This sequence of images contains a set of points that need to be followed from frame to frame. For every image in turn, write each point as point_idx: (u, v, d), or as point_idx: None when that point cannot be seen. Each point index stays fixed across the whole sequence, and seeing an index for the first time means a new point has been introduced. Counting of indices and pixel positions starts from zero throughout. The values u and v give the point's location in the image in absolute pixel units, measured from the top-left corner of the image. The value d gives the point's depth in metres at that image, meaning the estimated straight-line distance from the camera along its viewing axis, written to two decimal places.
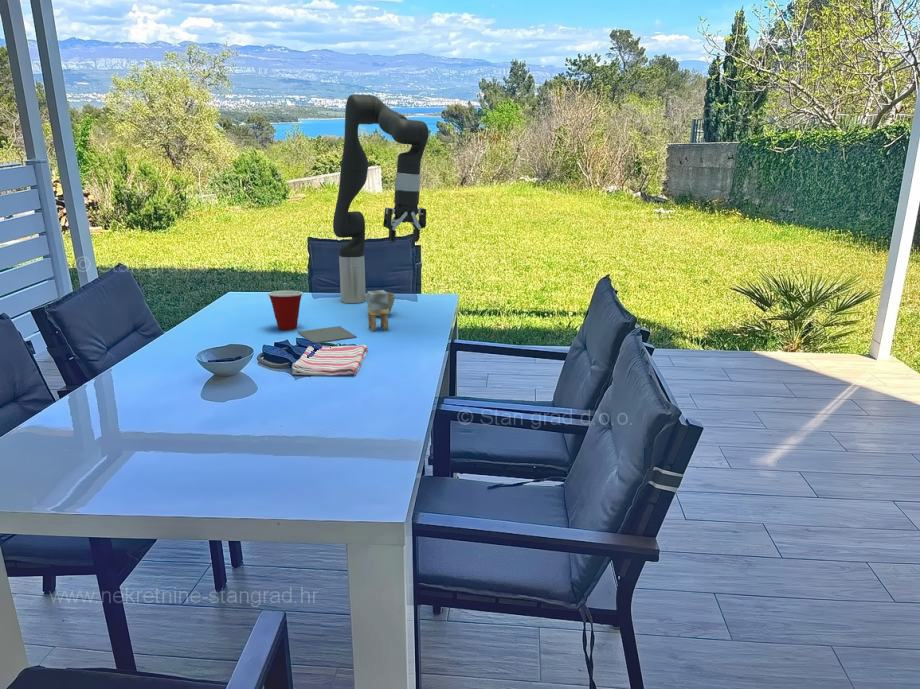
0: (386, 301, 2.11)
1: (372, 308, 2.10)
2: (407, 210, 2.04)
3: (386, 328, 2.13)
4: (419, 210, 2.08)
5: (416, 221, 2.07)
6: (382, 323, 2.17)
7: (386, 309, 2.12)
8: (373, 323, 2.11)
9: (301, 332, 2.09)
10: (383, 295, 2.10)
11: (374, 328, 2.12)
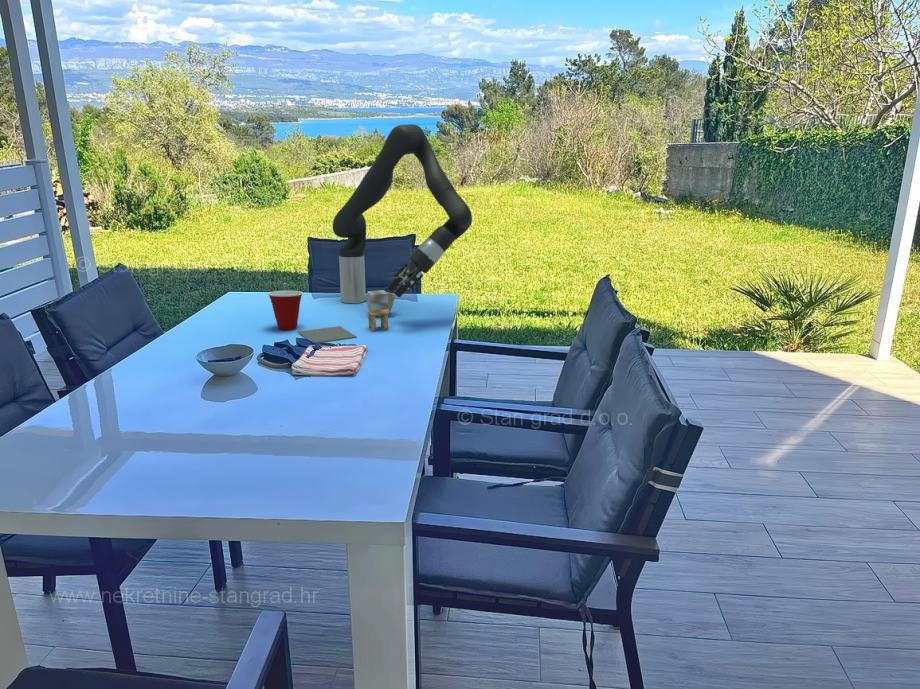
0: (386, 301, 2.11)
1: (372, 308, 2.10)
2: None
3: (386, 328, 2.13)
4: None
5: None
6: (382, 323, 2.17)
7: (386, 309, 2.12)
8: (373, 323, 2.11)
9: (301, 332, 2.09)
10: (383, 295, 2.10)
11: (374, 328, 2.12)
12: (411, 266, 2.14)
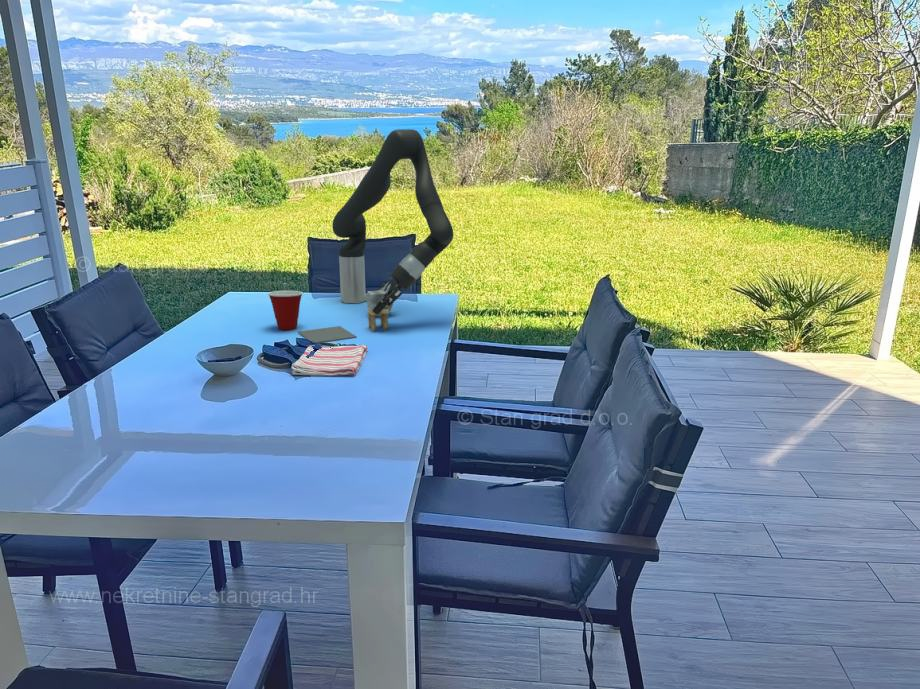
0: None
1: (372, 308, 2.10)
2: None
3: (386, 328, 2.13)
4: None
5: None
6: (382, 323, 2.17)
7: (386, 309, 2.12)
8: (373, 323, 2.11)
9: (301, 332, 2.09)
10: (383, 295, 2.10)
11: (374, 328, 2.12)
12: (392, 282, 2.13)
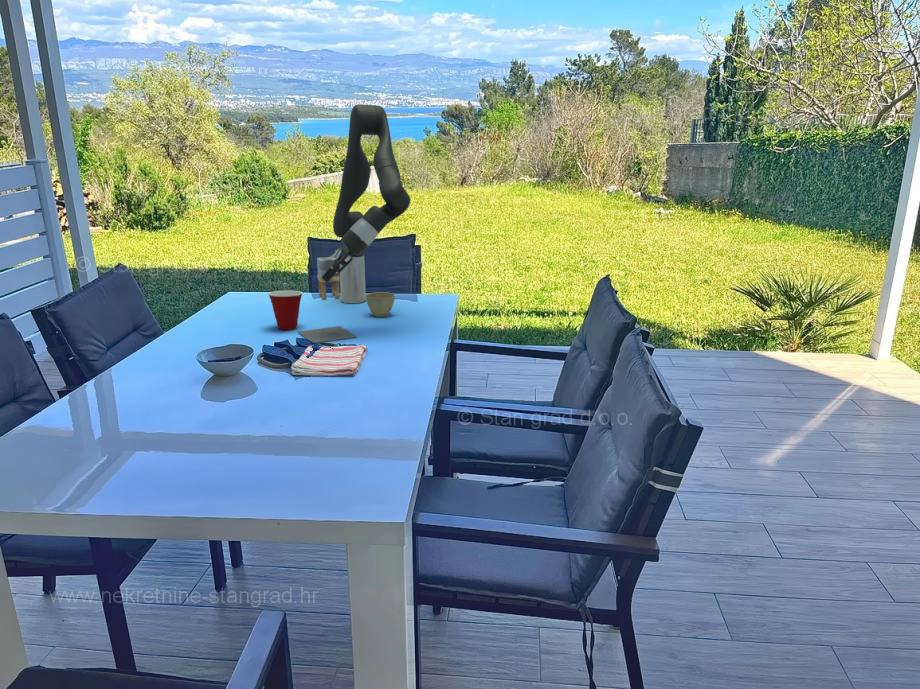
0: None
1: (321, 275, 1.99)
2: None
3: (337, 296, 2.03)
4: None
5: None
6: (334, 292, 2.06)
7: (337, 276, 2.01)
8: (323, 291, 2.01)
9: (301, 332, 2.09)
10: (333, 261, 1.99)
11: (324, 296, 2.01)
12: (343, 248, 2.03)
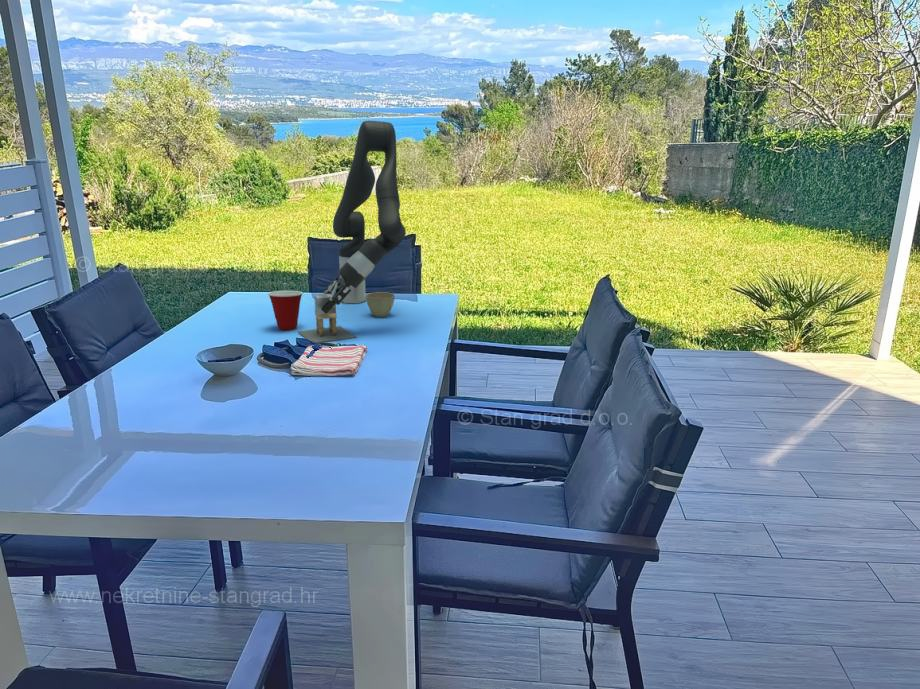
0: (334, 305, 2.03)
1: (319, 312, 2.02)
2: None
3: (334, 333, 2.06)
4: None
5: None
6: (331, 328, 2.09)
7: (334, 313, 2.04)
8: (321, 328, 2.04)
9: (301, 332, 2.09)
10: None
11: (321, 333, 2.04)
12: (340, 280, 2.05)
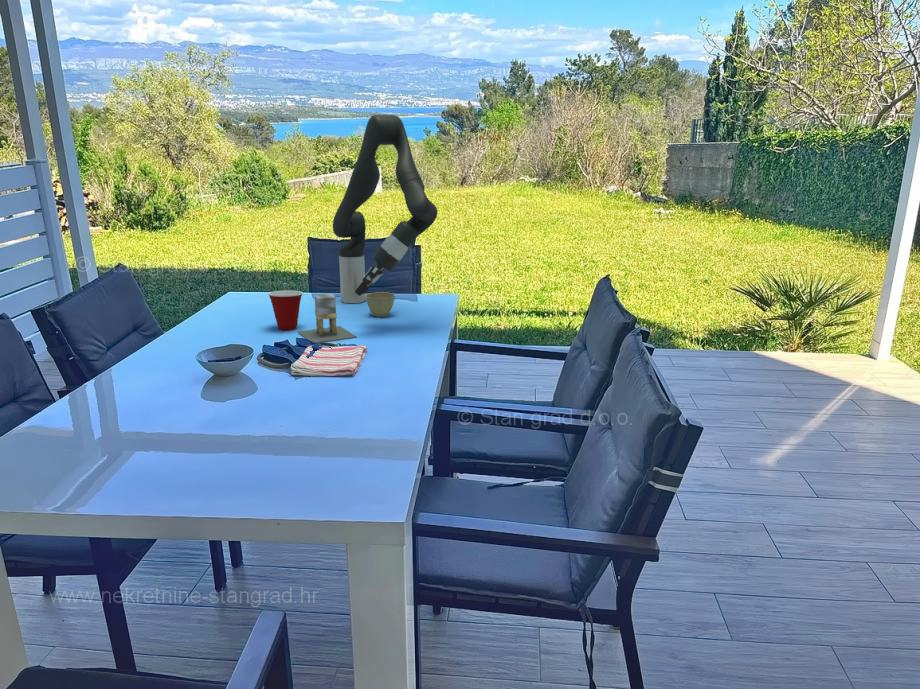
0: (334, 305, 2.03)
1: (319, 312, 2.02)
2: (381, 270, 2.09)
3: (334, 333, 2.06)
4: None
5: (377, 279, 2.12)
6: (331, 328, 2.09)
7: (334, 313, 2.04)
8: (321, 328, 2.04)
9: (301, 332, 2.09)
10: (330, 299, 2.02)
11: (322, 333, 2.04)
12: None
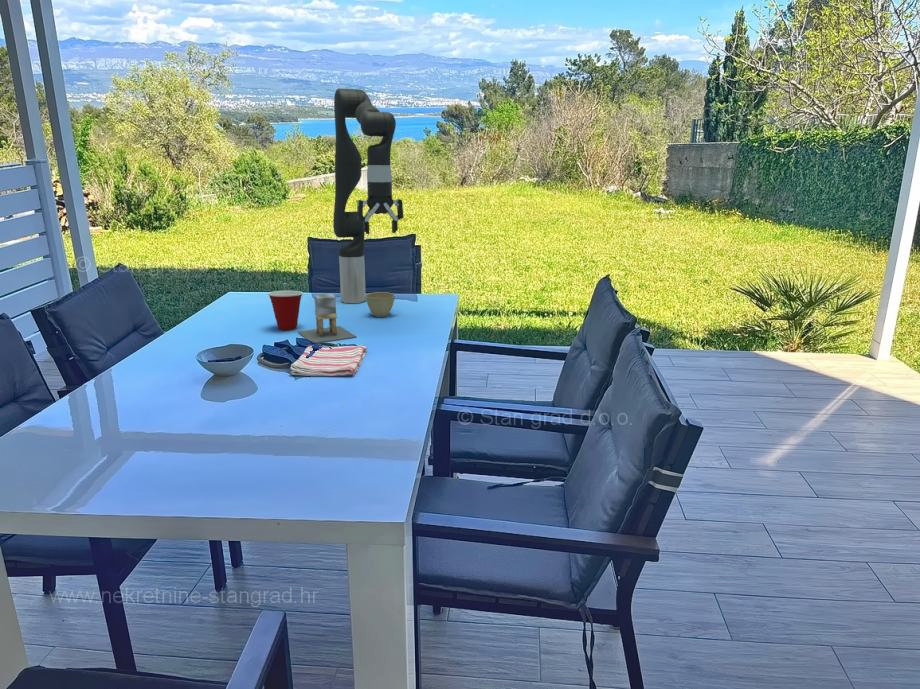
0: (334, 305, 2.03)
1: (319, 312, 2.02)
2: (380, 201, 2.07)
3: (334, 333, 2.06)
4: (395, 201, 2.09)
5: (391, 212, 2.08)
6: (331, 328, 2.09)
7: (334, 313, 2.04)
8: (321, 328, 2.04)
9: (301, 332, 2.09)
10: (330, 299, 2.02)
11: (322, 333, 2.04)
12: None
